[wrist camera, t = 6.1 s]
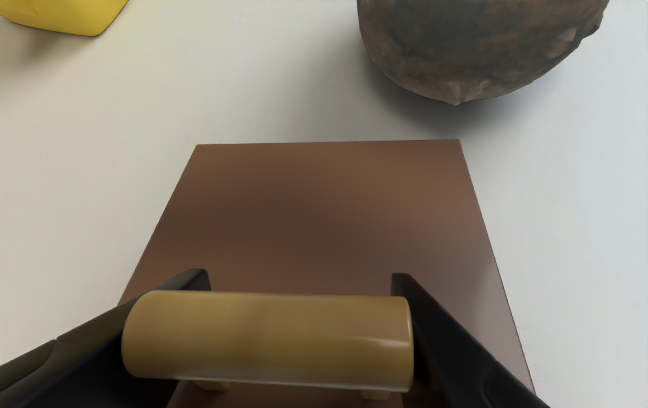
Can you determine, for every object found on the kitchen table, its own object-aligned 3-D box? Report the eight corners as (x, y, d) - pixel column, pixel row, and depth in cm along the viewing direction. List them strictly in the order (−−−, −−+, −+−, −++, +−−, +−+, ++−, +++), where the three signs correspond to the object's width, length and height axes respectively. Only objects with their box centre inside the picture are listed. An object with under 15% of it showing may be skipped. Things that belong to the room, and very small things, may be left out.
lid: (551, 481, 7) (702, 464, 4) (65, 442, 9) (-114, 405, 5) (456, 149, 15) (483, 48, 11) (200, 153, 16) (159, 63, 13)
